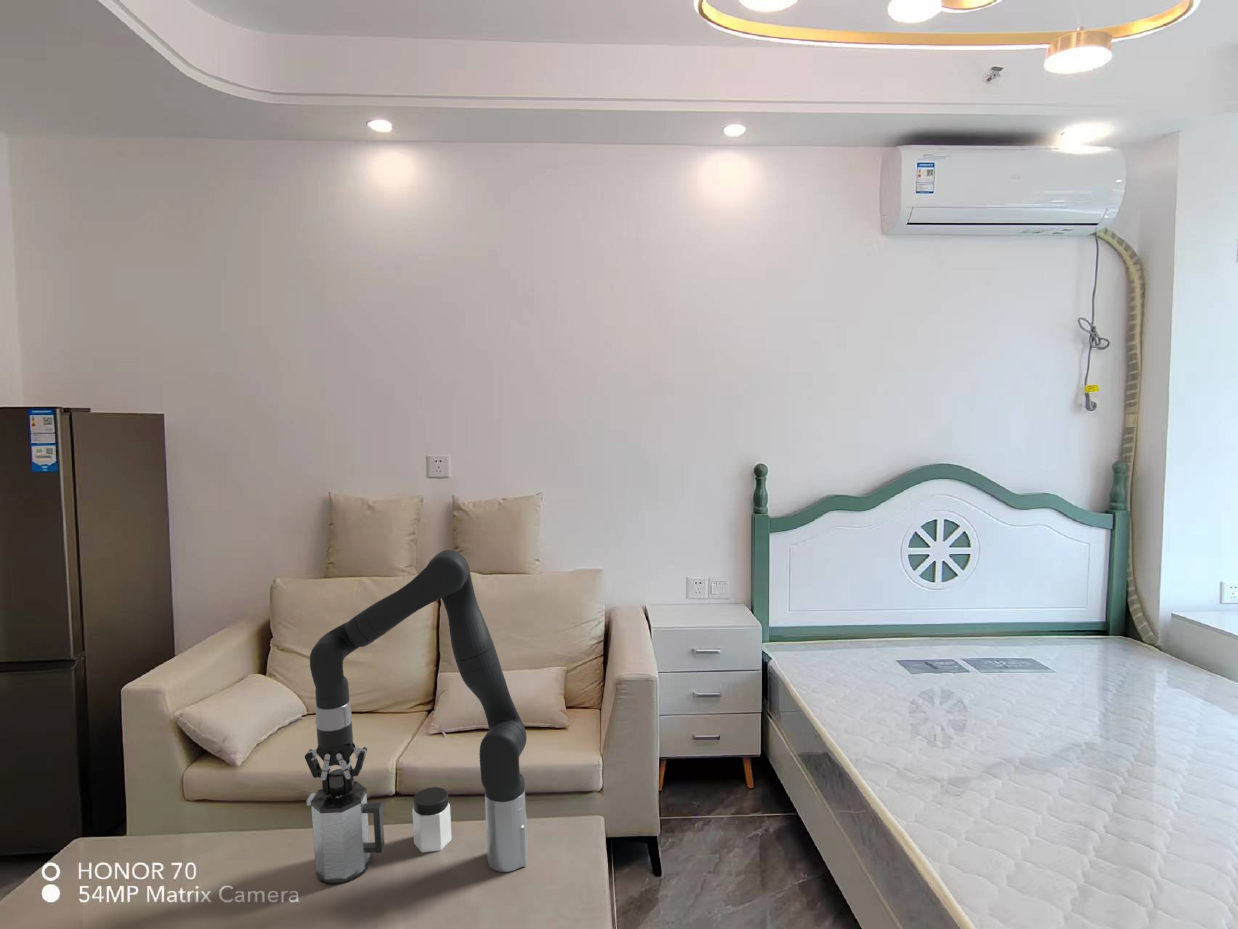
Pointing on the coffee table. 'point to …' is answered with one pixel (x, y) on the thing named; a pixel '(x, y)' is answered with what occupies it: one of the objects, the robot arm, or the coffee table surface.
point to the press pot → (344, 834)
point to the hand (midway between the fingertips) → (338, 792)
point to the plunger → (337, 783)
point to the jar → (431, 819)
